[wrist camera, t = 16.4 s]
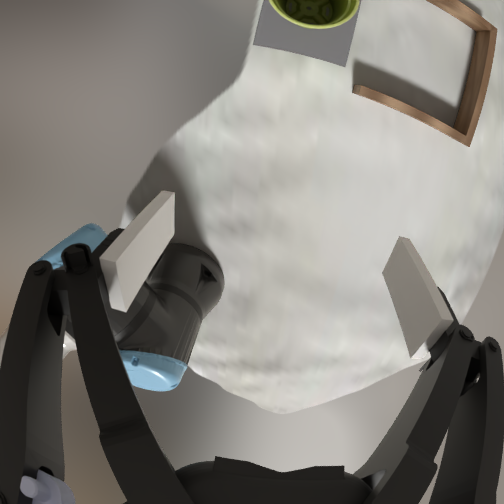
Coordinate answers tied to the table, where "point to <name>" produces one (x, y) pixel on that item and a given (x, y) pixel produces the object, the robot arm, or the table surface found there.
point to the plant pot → (316, 12)
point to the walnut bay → (475, 80)
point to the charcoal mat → (305, 36)
